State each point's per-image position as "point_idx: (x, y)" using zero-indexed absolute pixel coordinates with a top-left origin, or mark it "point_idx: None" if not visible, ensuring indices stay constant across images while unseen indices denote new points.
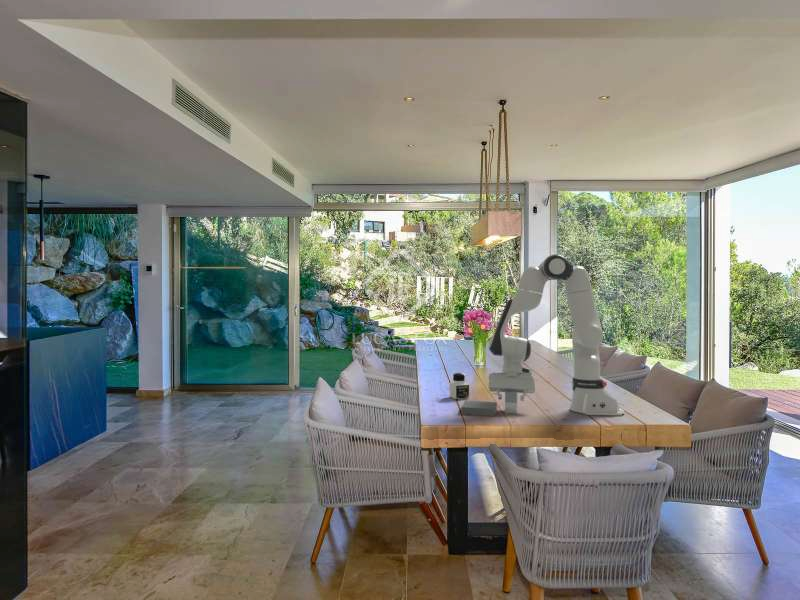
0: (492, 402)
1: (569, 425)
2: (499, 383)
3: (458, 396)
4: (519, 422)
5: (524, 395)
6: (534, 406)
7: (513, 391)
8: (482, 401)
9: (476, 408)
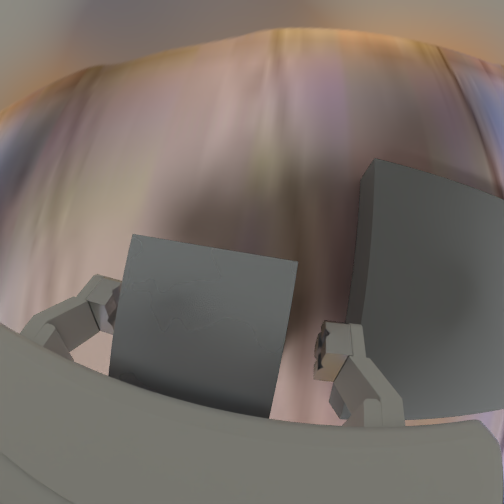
0: None
1: (52, 92)
2: (380, 496)
3: None
4: (226, 75)
5: (71, 300)
6: None
7: (163, 321)
8: (441, 412)
9: (474, 190)
